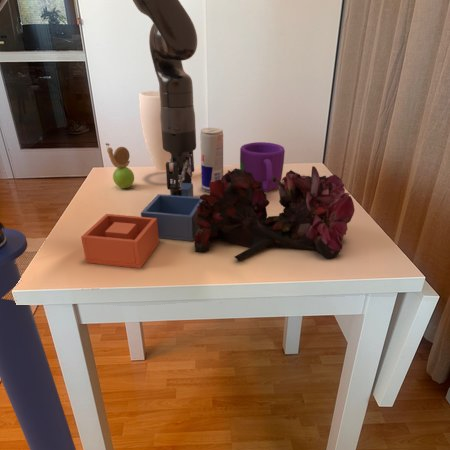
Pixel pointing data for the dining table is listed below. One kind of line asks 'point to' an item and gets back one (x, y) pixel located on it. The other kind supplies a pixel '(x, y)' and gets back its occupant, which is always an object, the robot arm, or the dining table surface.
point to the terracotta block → (122, 231)
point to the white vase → (153, 128)
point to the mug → (263, 162)
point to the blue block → (186, 189)
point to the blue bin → (174, 216)
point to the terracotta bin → (120, 242)
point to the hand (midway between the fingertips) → (182, 198)
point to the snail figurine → (121, 167)
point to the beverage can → (211, 156)
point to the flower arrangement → (275, 225)
